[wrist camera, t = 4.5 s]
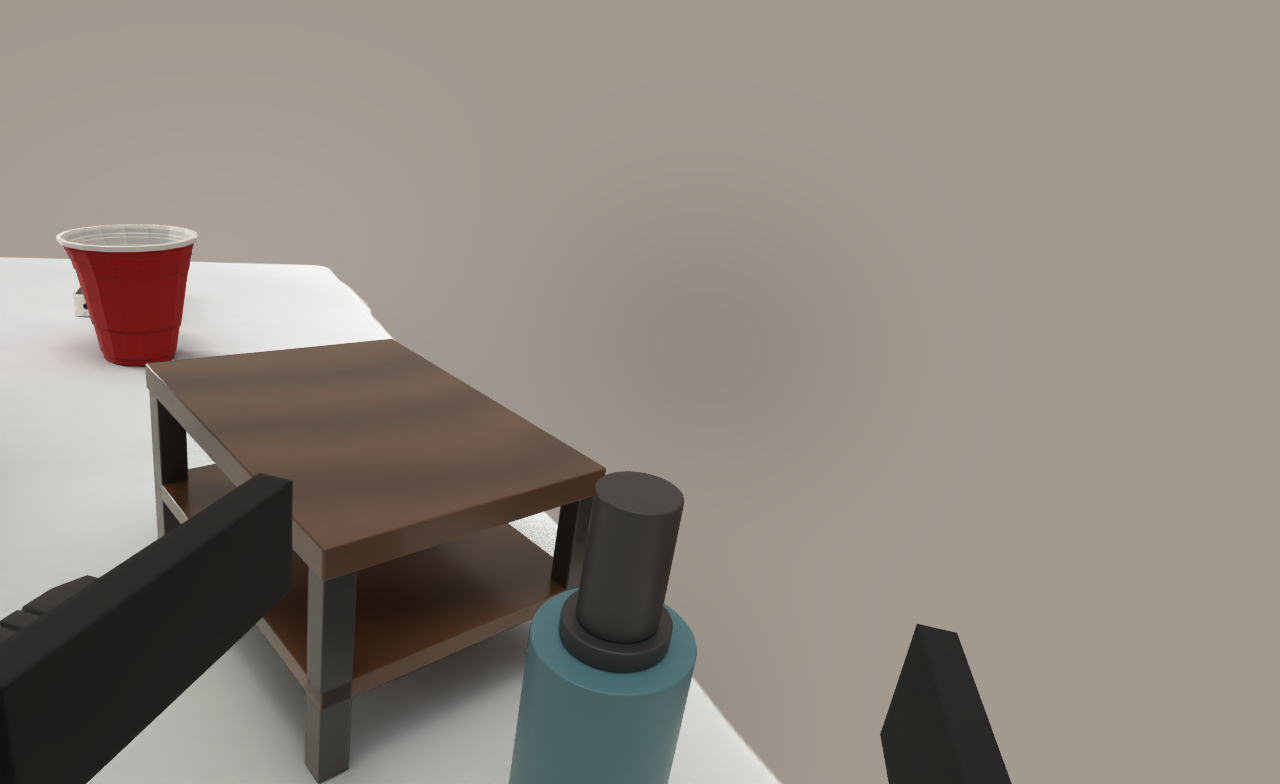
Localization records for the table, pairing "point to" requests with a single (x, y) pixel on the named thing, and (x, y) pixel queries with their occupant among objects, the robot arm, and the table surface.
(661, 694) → the capped bottle
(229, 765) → the table surface
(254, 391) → the coffee table
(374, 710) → the table surface
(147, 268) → the plastic cup
